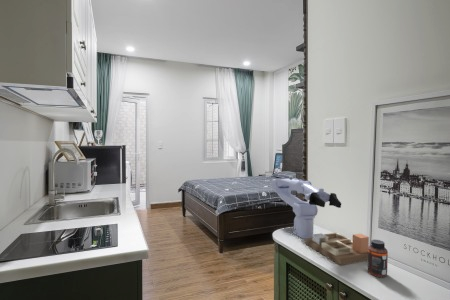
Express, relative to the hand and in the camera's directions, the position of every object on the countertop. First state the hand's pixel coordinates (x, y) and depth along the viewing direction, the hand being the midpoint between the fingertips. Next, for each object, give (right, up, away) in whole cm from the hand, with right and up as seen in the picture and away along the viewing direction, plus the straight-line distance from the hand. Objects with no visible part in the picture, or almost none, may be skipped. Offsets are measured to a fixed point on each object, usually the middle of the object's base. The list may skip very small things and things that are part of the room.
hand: (332, 205), depth 107 cm
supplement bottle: (+9, -20, -16) cm, 28 cm away
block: (-3, -17, +5) cm, 18 cm away
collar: (+1, -17, -3) cm, 18 cm away
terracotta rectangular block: (+10, -17, -3) cm, 20 cm away
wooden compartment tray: (+3, -20, +2) cm, 20 cm away
